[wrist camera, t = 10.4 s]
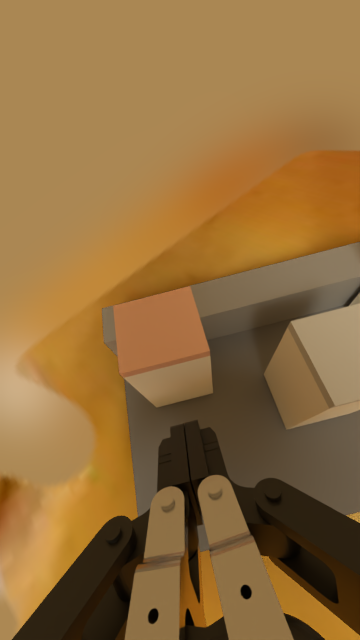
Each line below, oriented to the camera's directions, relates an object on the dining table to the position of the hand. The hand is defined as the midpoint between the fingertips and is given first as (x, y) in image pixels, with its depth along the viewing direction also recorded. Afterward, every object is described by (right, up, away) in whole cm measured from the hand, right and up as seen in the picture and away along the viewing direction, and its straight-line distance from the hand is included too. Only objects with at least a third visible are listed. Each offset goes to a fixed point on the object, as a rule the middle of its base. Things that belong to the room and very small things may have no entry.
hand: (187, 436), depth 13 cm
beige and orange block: (-1, +2, +7) cm, 7 cm away
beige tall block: (+8, +1, +5) cm, 10 cm away
